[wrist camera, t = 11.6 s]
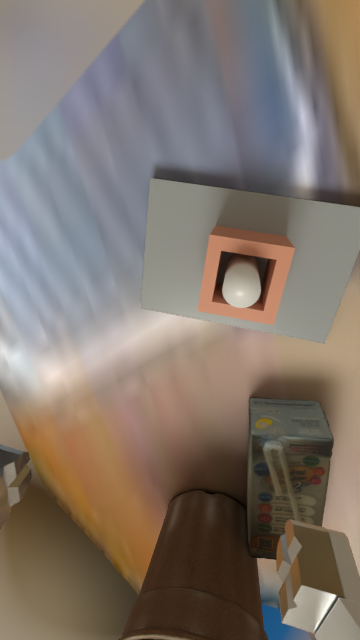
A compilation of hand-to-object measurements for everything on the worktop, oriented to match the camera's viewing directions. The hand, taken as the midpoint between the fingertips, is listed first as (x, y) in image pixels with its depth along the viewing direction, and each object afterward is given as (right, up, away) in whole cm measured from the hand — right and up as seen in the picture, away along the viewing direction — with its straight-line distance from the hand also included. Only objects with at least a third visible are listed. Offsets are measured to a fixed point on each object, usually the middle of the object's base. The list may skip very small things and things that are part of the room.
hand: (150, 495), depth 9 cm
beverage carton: (+13, -12, +28) cm, 33 cm away
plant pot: (+5, -23, +35) cm, 42 cm away
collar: (+7, +10, +18) cm, 22 cm away
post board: (+7, +11, +19) cm, 23 cm away
